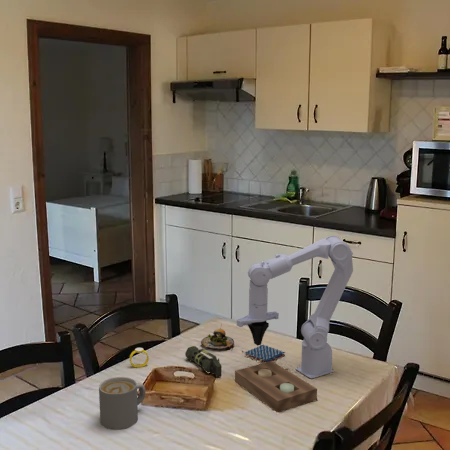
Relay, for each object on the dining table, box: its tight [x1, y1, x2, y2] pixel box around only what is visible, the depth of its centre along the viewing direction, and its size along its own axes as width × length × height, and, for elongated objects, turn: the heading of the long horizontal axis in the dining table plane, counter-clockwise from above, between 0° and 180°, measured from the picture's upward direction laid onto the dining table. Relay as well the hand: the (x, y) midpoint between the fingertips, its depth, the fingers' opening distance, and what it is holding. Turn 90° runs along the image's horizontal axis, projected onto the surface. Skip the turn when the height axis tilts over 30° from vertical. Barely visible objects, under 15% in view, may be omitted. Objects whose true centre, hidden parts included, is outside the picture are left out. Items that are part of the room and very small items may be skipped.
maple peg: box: [258, 369, 272, 378], centre depth 174 cm, size 4×4×4 cm
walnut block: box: [234, 361, 318, 413], centre depth 170 cm, size 14×22×4 cm, turn 31°
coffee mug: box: [98, 376, 146, 431], centre depth 154 cm, size 13×10×10 cm
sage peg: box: [280, 383, 294, 393], centre depth 165 cm, size 4×4×4 cm
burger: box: [200, 324, 235, 350], centre depth 203 cm, size 12×12×8 cm
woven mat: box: [244, 344, 286, 364], centre depth 195 cm, size 10×11×2 cm
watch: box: [129, 347, 150, 368], centre depth 186 cm, size 6×3×6 cm, turn 107°
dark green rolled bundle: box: [184, 345, 223, 378], centre depth 185 cm, size 6×5×18 cm
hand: (257, 344), depth 180 cm, fingers closed
